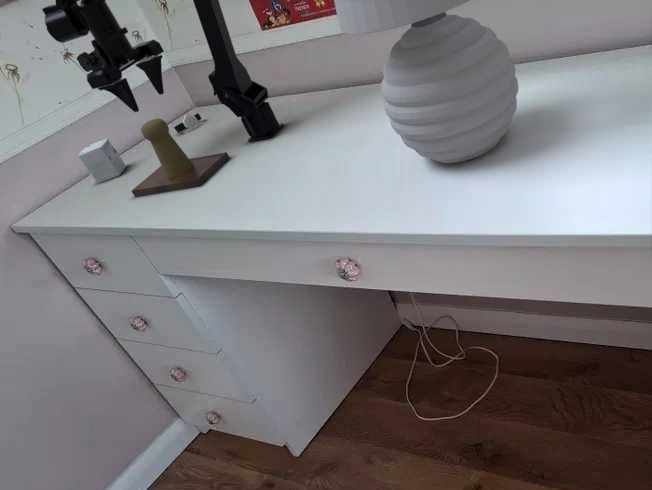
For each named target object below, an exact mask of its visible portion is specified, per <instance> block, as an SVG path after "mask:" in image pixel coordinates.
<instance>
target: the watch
mask: <svg viewBox="0 0 652 490" xmlns="http://www.w3.org/2000/svg"><path fill="white" fill-rule="evenodd" d="M201 120H203V118H202V117H201V115H200V113H198V112H197V113H195V114H193V115H192V114H184V117H183V120H182V122H180V123H179V124H177V125H175V126H174V127H173V128H174V130H175V131H176V132H177V133H178V134H179V133H181V132H183V131H185V130H186V129H194V128H196V126H197V125H198V123H199V121H201Z"/></svg>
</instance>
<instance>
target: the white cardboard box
mask: <svg viewBox="0 0 652 490" xmlns="http://www.w3.org/2000/svg"><path fill="white" fill-rule="evenodd" d="M77 157H78V158H79V160H80V161H81V162H82V164H83V166H84V167H85V168H86V170H87V171H88V173H89V174H90V176H91V177H92V178H93V179H94V181H95V183H97V184H100V183H103V182H106V181H109V180H111V179H113V178H116V177H119V176H120V175H121V174H122V173H123V171H124V170H125V168H126V167H127V165H126V163H125V162H124V160H123V159H122V157H121V156H120V154H119V153H118V151H117V150H116V148H115V147H114V146H113V144H112V143H111V141H110V139H109V138H104V139H101V140H99V141H96V142H93V143H91V144H89V145H86V146H85V147H84V148H83V149H82V150H81V151H80V153H79V154H78V155H77Z"/></svg>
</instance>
